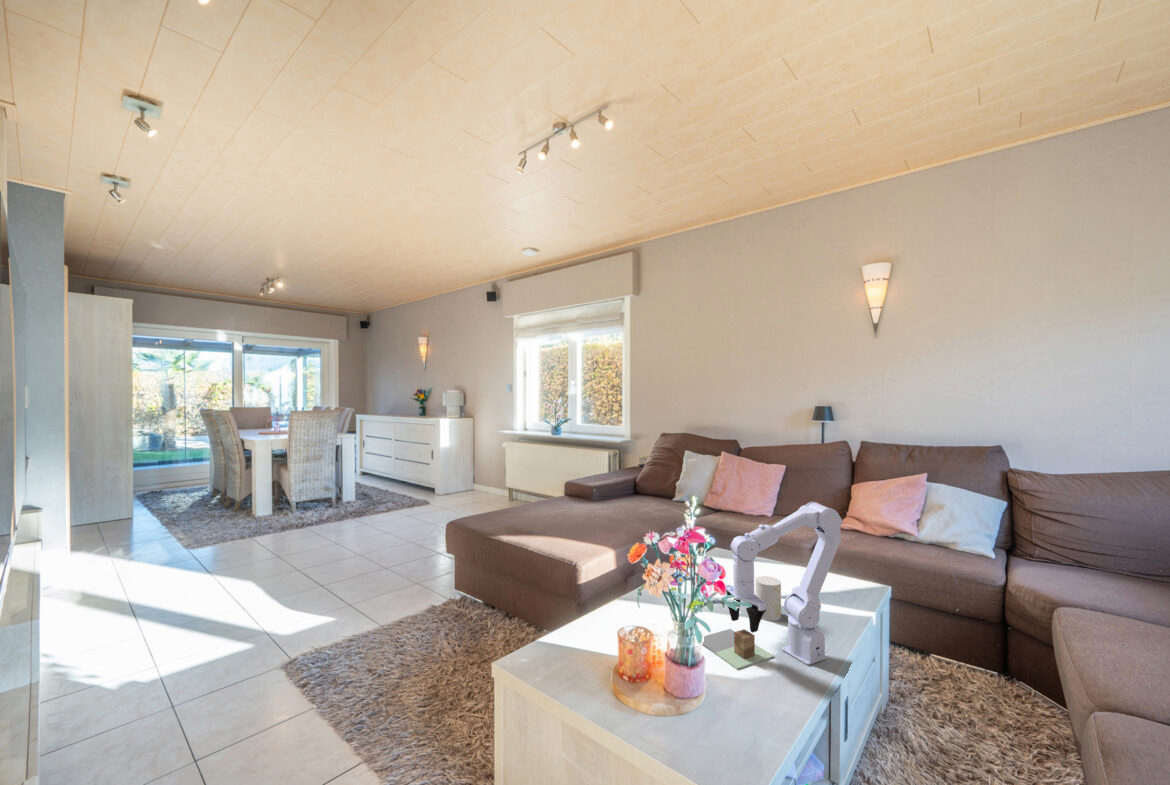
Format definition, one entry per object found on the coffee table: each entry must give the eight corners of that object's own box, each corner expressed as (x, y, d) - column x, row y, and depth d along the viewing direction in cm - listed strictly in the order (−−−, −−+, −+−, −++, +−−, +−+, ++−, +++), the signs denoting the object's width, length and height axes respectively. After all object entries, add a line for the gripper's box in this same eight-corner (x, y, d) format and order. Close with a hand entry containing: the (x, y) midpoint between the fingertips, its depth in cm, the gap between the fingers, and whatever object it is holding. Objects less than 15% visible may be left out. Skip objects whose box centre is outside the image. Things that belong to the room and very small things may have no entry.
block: (754, 656, 139) (754, 635, 139) (744, 659, 138) (743, 638, 138) (744, 649, 143) (744, 629, 143) (734, 652, 141) (734, 632, 141)
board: (774, 657, 139) (774, 655, 139) (737, 669, 133) (737, 668, 133) (730, 630, 156) (730, 628, 156) (695, 639, 149) (695, 638, 149)
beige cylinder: (777, 623, 160) (776, 587, 160) (752, 616, 165) (752, 581, 165) (783, 614, 166) (783, 579, 166) (760, 608, 171) (759, 574, 171)
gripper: (716, 573, 145) (716, 618, 145) (752, 590, 132) (752, 640, 132) (734, 569, 148) (734, 613, 148) (770, 585, 135) (771, 634, 135)
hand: (744, 625), depth 140 cm, fingers open, 7 cm apart
